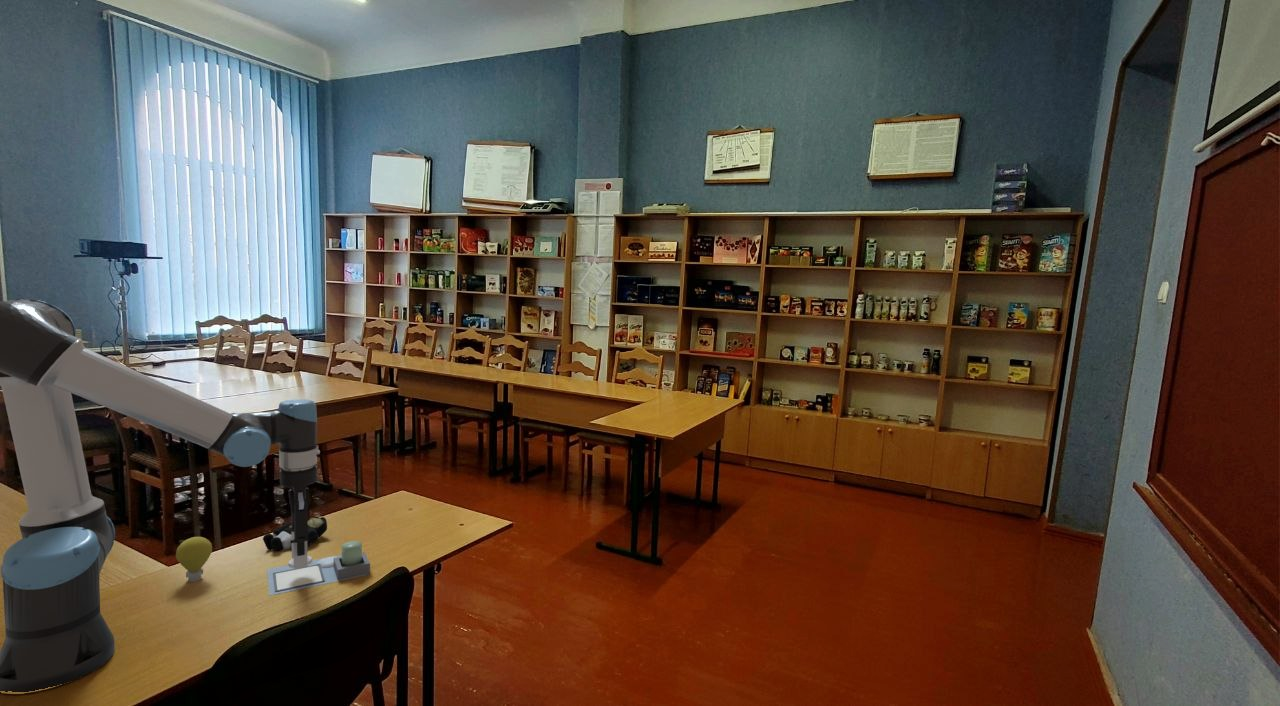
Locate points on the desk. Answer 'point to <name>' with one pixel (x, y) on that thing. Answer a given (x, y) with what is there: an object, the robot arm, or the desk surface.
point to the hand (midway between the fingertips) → (299, 562)
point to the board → (314, 574)
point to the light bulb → (194, 556)
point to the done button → (351, 553)
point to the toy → (284, 534)
